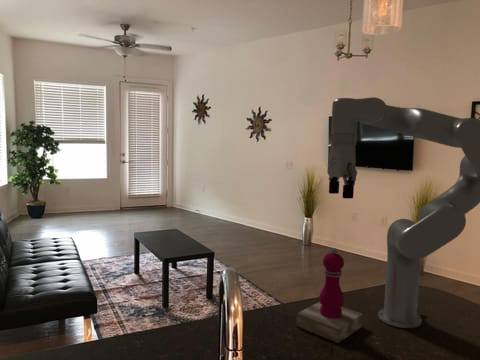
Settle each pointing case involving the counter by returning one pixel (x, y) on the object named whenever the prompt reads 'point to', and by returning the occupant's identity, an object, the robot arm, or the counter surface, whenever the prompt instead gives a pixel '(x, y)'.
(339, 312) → the pepper mill
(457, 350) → the counter surface
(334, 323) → the grey ridged block
